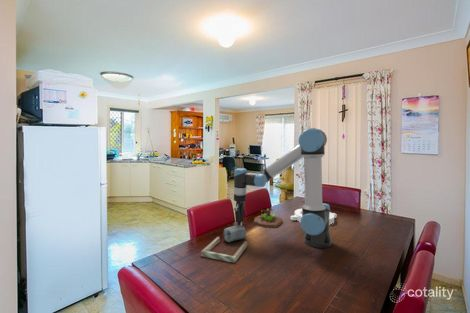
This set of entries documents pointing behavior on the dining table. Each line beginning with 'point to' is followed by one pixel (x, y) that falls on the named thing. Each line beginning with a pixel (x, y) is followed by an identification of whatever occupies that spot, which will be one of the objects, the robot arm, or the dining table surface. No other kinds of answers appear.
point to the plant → (268, 220)
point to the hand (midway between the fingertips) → (239, 232)
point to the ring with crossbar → (298, 216)
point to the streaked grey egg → (234, 233)
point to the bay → (219, 256)
